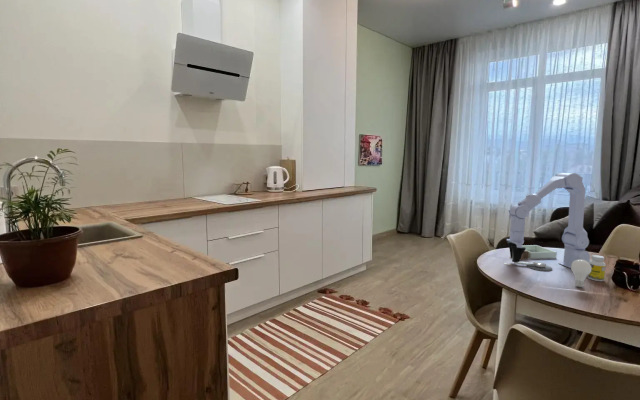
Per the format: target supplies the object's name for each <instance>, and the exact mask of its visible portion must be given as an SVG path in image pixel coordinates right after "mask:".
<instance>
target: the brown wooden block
mask: <svg viewBox="0 0 640 400" xmlns="http://www.w3.org/2000/svg"><path fill="white" fill-rule="evenodd" d="M528 253H529V251H527V250H525V251H524V252H523V254H522V256H521V259H520V260H528V259H529V258H528Z"/></svg>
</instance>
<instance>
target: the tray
mask: <svg viewBox="0 0 640 400" xmlns="http://www.w3.org/2000/svg"><path fill="white" fill-rule="evenodd" d="M522 247H525V248H526V249H525V250H527V251H529V253H528V259H530V260H536V259H537V260H541V259H542V260H543V259H546V260H547V259H549V260H550V259H557V255H558V252H557V251H555V250H553V249H552V250H551V249H549V248H546V247H542V246H540V245H537V244H533V245H532V244H530V245H529V244H528V245H527V244H526V245H525V244H524V245H523V244H522Z"/></svg>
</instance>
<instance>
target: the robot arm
mask: <svg viewBox="0 0 640 400" xmlns="http://www.w3.org/2000/svg"><path fill="white" fill-rule="evenodd" d="M556 189H565V191H566V192H568V193H569V203H568V205H569V206H568V221H567V223H568V224H567V225H568V226H566V227H565V228H564V231H563V233H562V236H561V241H562V243H563V244H564V245H563V246H564V252H563V262H558V264H559V265H561V266H563V267H566V268H569V269H571V264H572V262H573V261H575V260H578V259H582V260H585V261H587V262H589V261H591V256H590V253H589V252H588V251H587V250H586V248H588V246H589V244H590V240H589V237H588V232H587V231H586V230H585V228H584V216H585V215H584V213H585V202H586V201H585V200H586V199H585V198H586V187H585V185H584V183H583V177H582V176H580V175H579V174H578V173H576V172H575V173H574V172H572V173H569V172H566V173H565V172H558V173H556V174H555V175H553V176H552V177H550V180H549V181H547V182H546V183H545V184H544V185H543V186H542V187H540V189H538V190H537V191H536V192H535V193H529V194H526V195H525V197H524V198H523V199H522V200H521V201H518V202H517V204H514V205H511V207H510V208H509V210H508V213H509V215H510V227H509V228H510V229H509V238H506V242H507V245H508V248H509V255H510V258H512V254H513V258H514V261H515V262H521V260H522V259H521V256H522V254H523V252H524V251H525V249H526V248H525V247H522V245H523V244H524V242H525V240H524V239H525V238H524V237H525V229H526V227H525V226H526V218H527V217H529V214H530V212H531V211H532V210H533V209H535V208H536V207H537V206H538V205H540V204H541V203H542V201H541V200H542V199H543V198H545V197H546V196H547V195H550V194H551V193H552V192H554V191H555V190H556ZM512 252H513V253H512Z"/></svg>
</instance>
